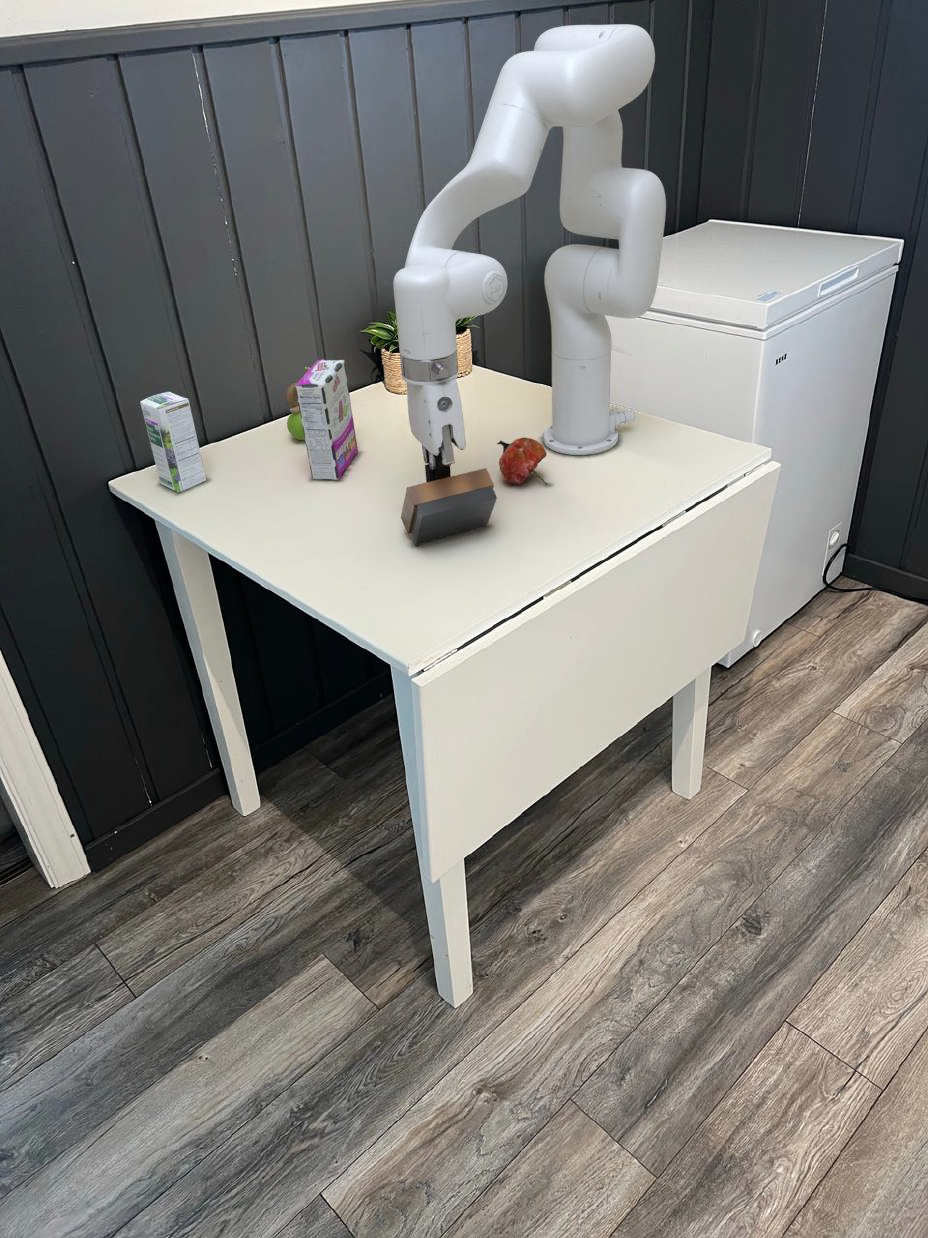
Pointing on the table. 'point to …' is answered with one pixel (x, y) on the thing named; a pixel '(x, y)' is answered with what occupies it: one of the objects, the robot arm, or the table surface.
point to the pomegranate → (520, 459)
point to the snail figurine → (294, 413)
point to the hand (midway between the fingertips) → (439, 489)
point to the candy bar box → (327, 419)
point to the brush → (448, 506)
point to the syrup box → (173, 441)
